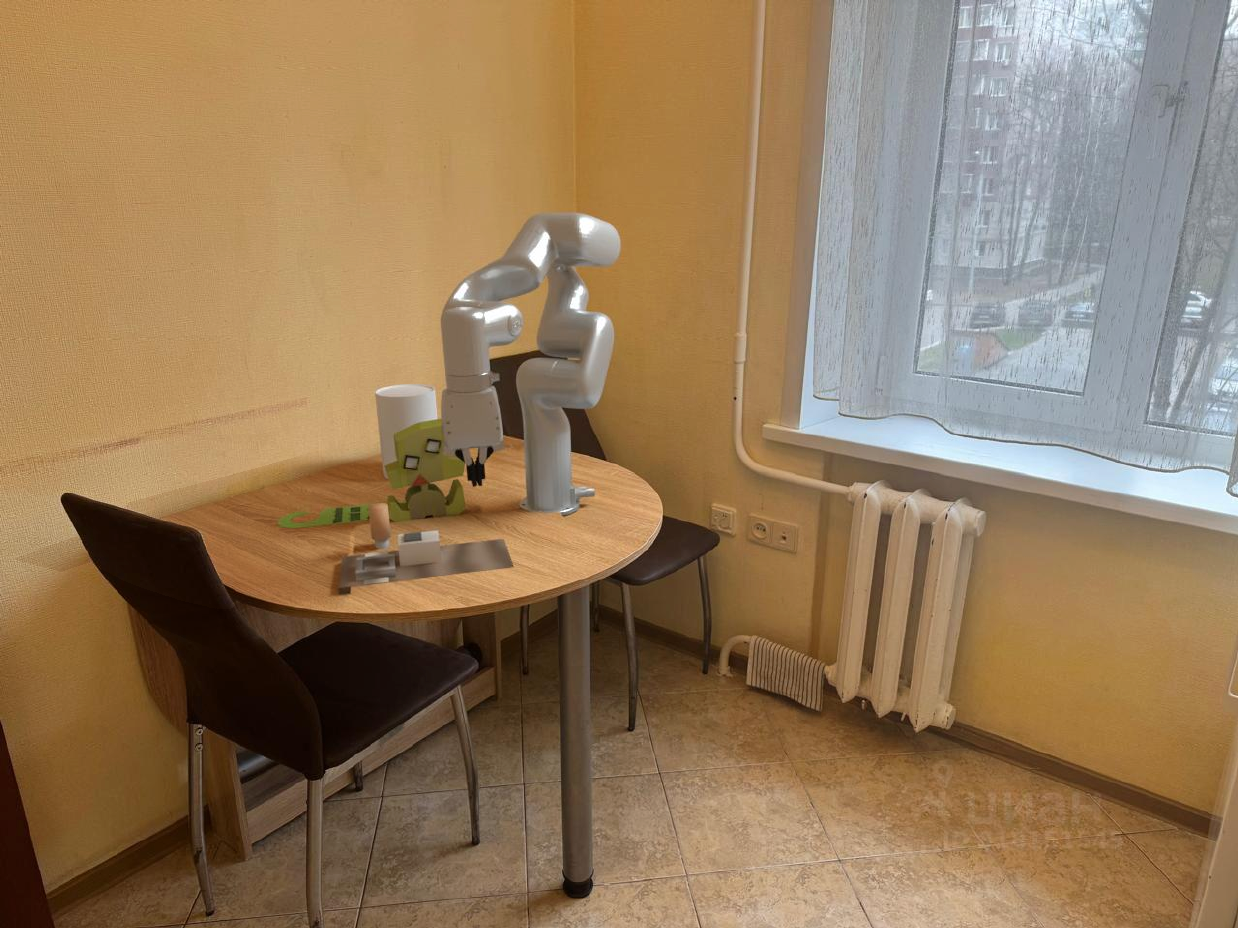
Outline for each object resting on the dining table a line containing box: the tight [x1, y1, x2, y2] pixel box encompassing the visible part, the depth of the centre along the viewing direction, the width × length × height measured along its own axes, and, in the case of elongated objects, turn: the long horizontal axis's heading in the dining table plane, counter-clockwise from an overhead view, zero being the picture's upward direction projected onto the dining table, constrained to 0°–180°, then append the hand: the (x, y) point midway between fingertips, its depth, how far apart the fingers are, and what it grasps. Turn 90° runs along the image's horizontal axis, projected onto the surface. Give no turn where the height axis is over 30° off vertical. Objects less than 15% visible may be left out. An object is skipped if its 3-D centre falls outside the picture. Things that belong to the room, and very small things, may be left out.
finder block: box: [397, 530, 441, 566], centre depth 146 cm, size 7×5×4 cm
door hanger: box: [277, 500, 404, 529], centre depth 171 cm, size 9×1×25 cm
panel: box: [338, 538, 515, 595], centre depth 146 cm, size 29×13×3 cm, turn 105°
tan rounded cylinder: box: [368, 502, 392, 550], centre depth 152 cm, size 3×3×9 cm
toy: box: [385, 418, 467, 523], centre depth 166 cm, size 16×6×20 cm, turn 110°
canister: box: [374, 383, 439, 480], centre depth 195 cm, size 14×14×20 cm
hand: (476, 483), depth 146 cm, fingers closed
